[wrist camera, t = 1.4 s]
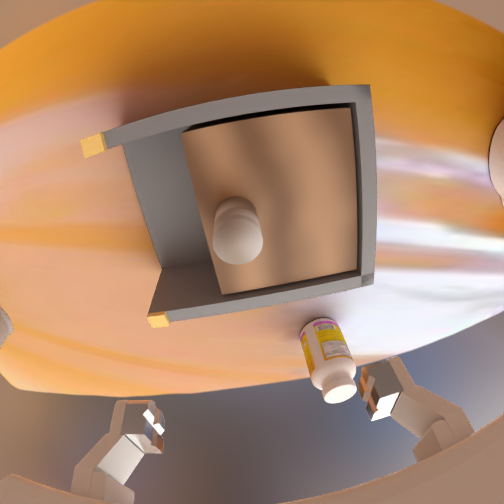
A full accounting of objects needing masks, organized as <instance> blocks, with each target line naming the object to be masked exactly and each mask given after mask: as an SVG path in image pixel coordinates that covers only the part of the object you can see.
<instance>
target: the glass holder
mask: <svg viewBox="0 0 504 504" xmlns="http://www.w3.org/2000/svg"><path fill="white" fill-rule="evenodd" d="M12 332H13V324H12V322H11V320H10V318H9V316H8V315H7V314H6V312H5V311H4V310H3V309H2V308H1V307H0V348H1V346H2V345H3V343H4V341H5V340H6V338H7V337H8V335H10V334H12Z"/></svg>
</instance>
